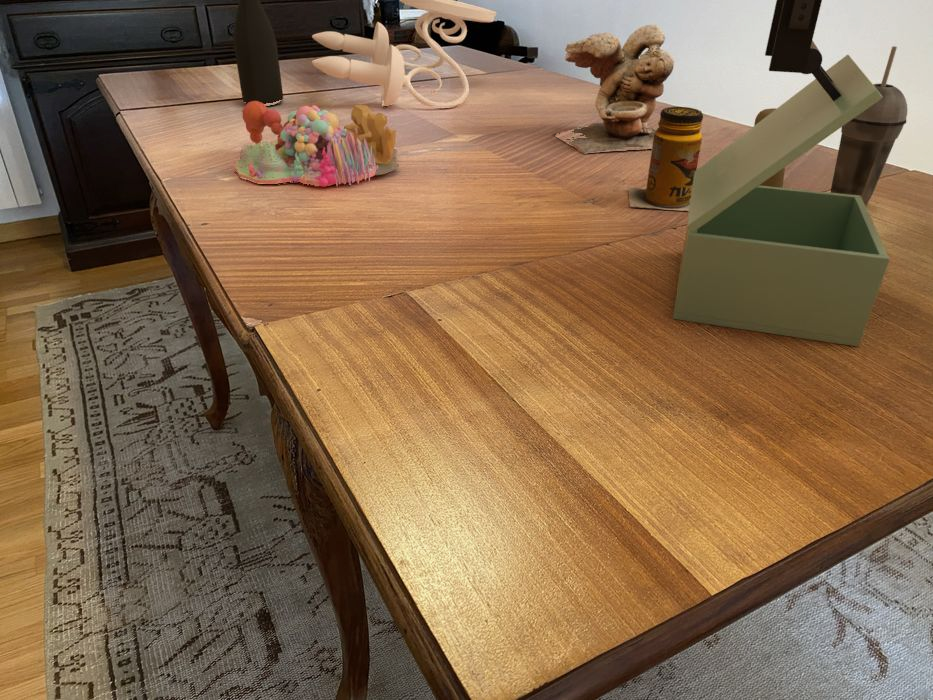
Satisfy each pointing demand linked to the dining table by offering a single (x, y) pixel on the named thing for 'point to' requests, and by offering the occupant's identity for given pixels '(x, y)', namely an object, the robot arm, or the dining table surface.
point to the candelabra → (389, 59)
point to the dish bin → (784, 266)
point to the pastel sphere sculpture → (316, 146)
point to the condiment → (672, 161)
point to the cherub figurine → (622, 87)
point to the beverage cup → (869, 141)
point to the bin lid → (781, 136)
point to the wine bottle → (256, 54)
